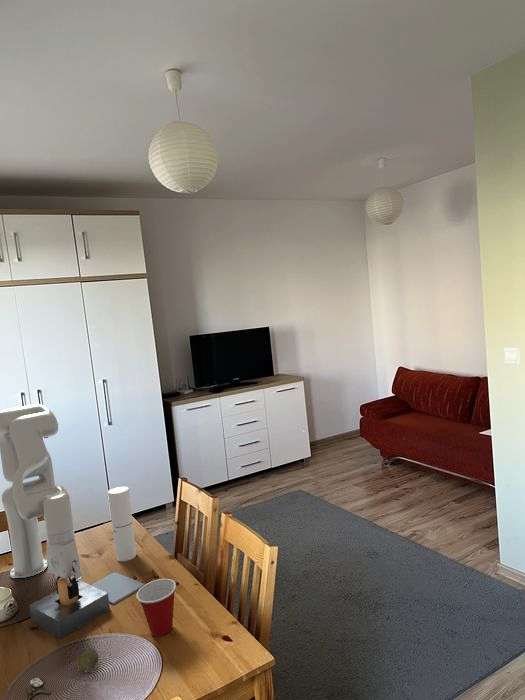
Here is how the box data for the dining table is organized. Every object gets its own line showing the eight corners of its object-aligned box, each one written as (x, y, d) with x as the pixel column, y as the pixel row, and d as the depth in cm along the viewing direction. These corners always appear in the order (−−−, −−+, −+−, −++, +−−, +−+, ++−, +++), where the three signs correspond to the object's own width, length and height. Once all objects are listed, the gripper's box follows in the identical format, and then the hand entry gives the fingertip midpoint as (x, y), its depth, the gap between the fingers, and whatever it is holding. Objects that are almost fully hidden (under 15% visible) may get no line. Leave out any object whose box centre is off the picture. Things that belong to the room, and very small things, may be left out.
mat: (83, 590, 166) (83, 588, 166) (114, 573, 175) (114, 572, 175) (113, 604, 156) (113, 602, 156) (144, 585, 165) (144, 584, 165)
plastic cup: (137, 626, 143) (132, 585, 143) (175, 613, 148) (170, 574, 147) (144, 648, 133) (139, 604, 133) (185, 634, 138) (180, 591, 137)
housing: (31, 621, 151) (29, 605, 151) (79, 594, 163) (78, 579, 163) (60, 638, 141) (58, 621, 141) (109, 609, 153) (107, 593, 153)
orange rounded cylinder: (58, 616, 152) (53, 581, 151) (73, 607, 156) (68, 573, 155) (68, 621, 149) (63, 585, 148) (83, 612, 153) (78, 577, 152)
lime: (100, 661, 130) (97, 642, 130) (94, 675, 125) (92, 655, 125) (82, 663, 130) (80, 644, 129) (76, 677, 125) (73, 657, 125)
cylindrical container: (130, 561, 183) (122, 493, 181) (112, 561, 184) (104, 493, 182) (139, 551, 190) (131, 486, 188) (121, 551, 191) (114, 486, 189)
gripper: (32, 535, 152) (40, 593, 154) (66, 546, 142) (74, 608, 144) (55, 525, 158) (62, 581, 160) (89, 535, 149) (96, 595, 150)
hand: (68, 593), depth 152 cm, fingers closed on orange rounded cylinder, 5 cm apart
